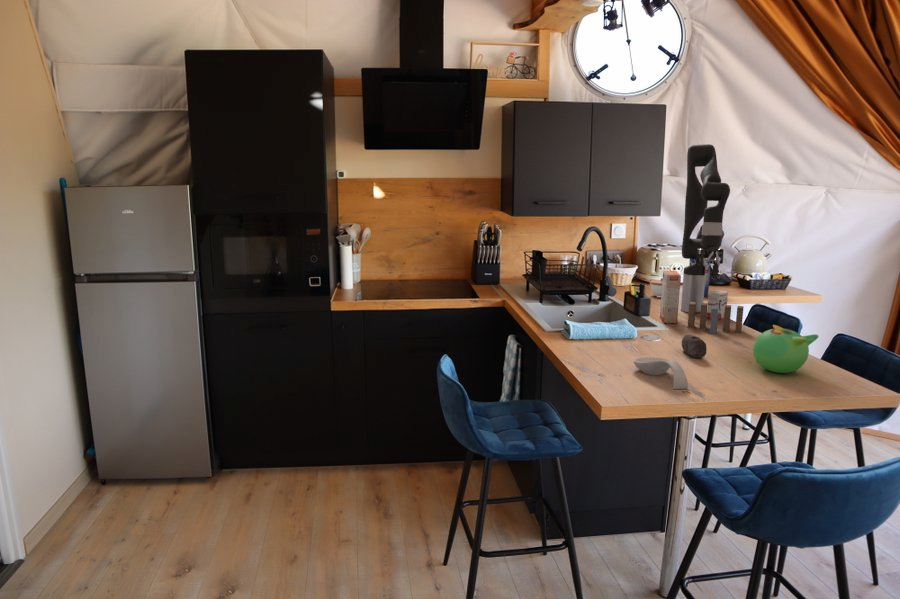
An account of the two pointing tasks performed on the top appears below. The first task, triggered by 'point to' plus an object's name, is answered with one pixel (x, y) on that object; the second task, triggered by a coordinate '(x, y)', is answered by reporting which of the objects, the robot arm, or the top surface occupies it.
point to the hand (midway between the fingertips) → (708, 275)
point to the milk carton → (707, 275)
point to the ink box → (717, 302)
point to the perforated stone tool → (694, 346)
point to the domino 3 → (714, 319)
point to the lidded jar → (656, 287)
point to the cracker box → (670, 296)
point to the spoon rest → (663, 369)
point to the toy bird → (782, 349)
